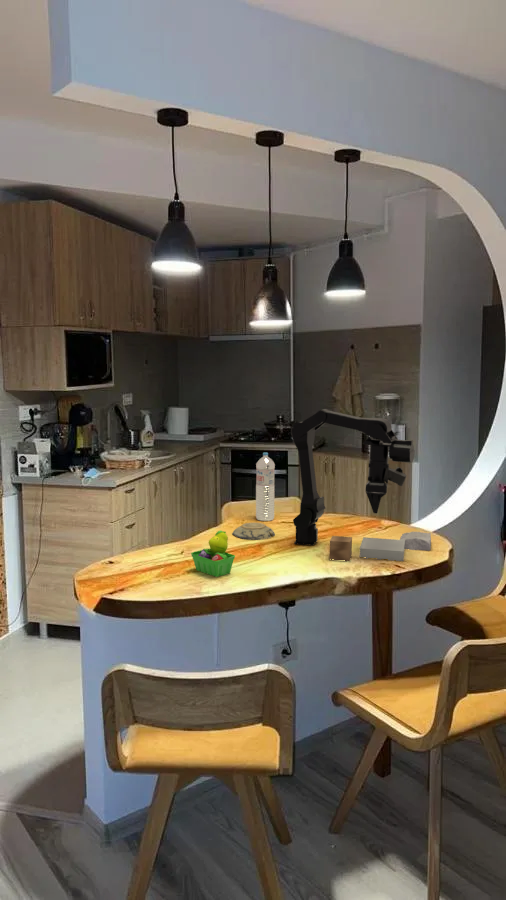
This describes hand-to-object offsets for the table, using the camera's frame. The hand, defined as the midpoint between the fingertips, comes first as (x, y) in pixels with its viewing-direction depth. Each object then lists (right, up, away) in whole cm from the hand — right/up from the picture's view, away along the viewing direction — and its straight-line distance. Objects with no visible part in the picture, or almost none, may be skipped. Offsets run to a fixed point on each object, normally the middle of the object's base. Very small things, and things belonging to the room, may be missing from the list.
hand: (375, 509), depth 213 cm
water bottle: (-33, -8, +44) cm, 55 cm away
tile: (+2, -14, 0) cm, 14 cm away
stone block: (+14, -13, +10) cm, 22 cm away
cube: (-12, -14, -5) cm, 19 cm away
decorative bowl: (-38, -11, +22) cm, 45 cm away
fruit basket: (-49, -16, -18) cm, 54 cm away
